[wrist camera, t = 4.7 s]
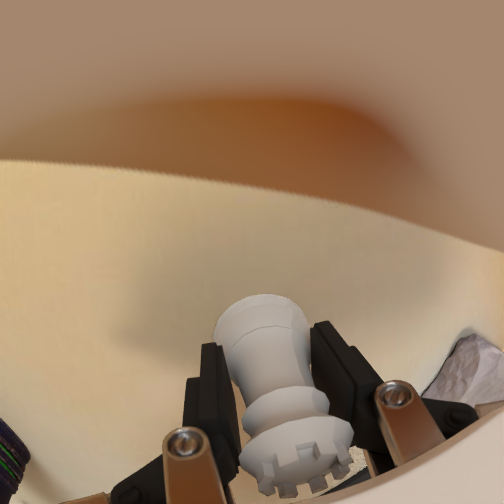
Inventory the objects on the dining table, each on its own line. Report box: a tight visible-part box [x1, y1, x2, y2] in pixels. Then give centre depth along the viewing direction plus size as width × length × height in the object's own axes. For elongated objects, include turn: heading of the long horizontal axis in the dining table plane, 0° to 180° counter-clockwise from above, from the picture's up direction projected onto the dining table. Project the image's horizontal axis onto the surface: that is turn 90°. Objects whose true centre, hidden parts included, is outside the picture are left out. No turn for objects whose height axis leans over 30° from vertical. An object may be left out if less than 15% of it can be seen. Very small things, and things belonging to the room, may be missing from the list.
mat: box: [321, 467, 371, 496], centre depth 19 cm, size 8×8×1 cm
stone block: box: [422, 334, 504, 408], centre depth 16 cm, size 12×5×10 cm
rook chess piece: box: [213, 293, 354, 499], centre depth 9 cm, size 4×4×8 cm
